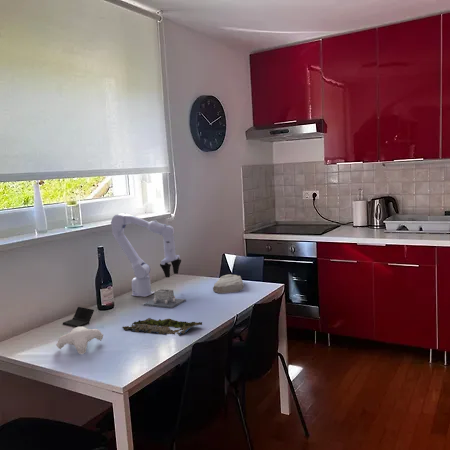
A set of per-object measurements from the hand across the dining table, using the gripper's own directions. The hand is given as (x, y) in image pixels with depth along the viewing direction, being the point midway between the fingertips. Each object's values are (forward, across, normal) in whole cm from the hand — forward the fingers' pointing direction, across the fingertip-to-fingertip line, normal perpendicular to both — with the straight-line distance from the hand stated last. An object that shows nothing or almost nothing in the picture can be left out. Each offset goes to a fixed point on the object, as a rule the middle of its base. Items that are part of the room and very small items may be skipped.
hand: (171, 275), depth 241 cm
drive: (+9, -16, -6) cm, 19 cm away
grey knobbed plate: (+9, -16, -6) cm, 20 cm away
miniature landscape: (+10, -46, -26) cm, 54 cm away
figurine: (+10, -72, -7) cm, 73 cm away
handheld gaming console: (+10, -51, +15) cm, 54 cm away
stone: (+10, +18, -25) cm, 32 cm away
